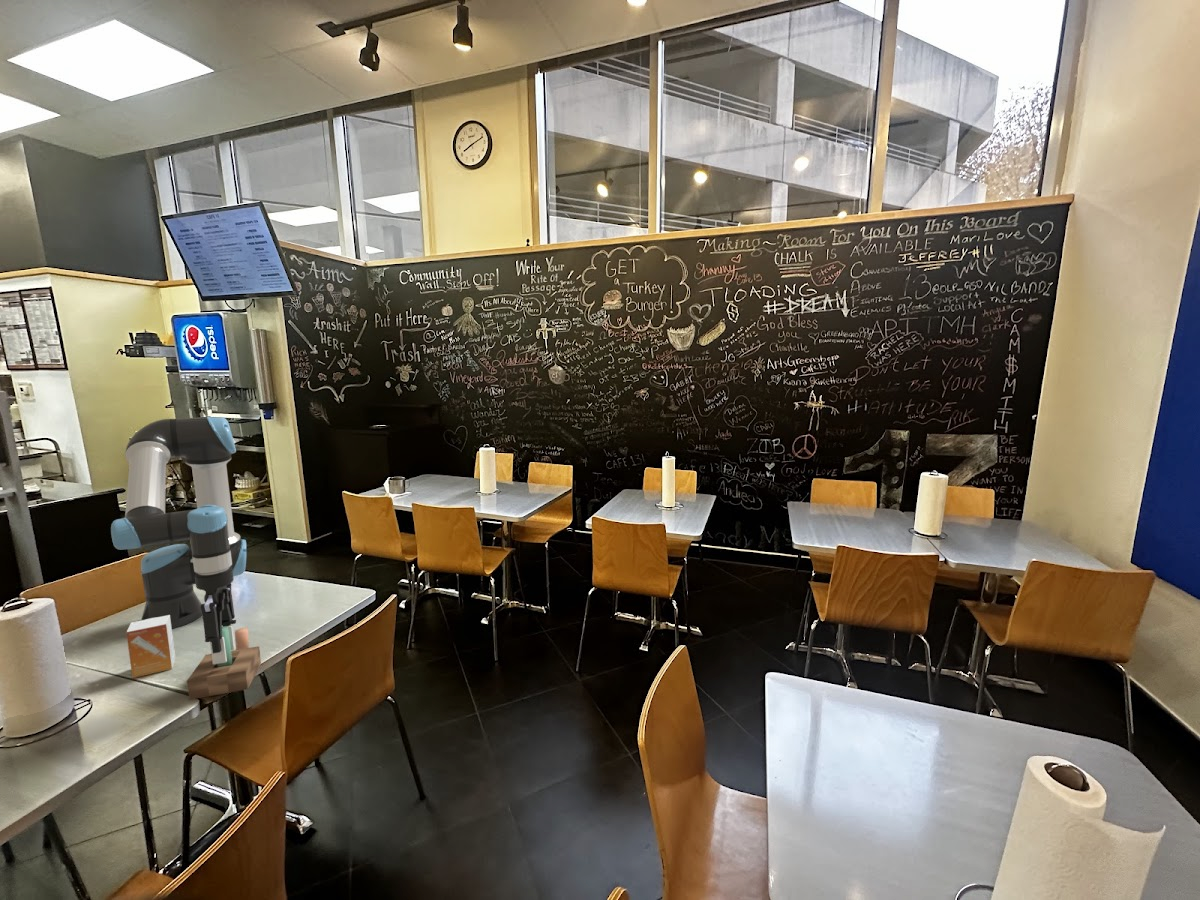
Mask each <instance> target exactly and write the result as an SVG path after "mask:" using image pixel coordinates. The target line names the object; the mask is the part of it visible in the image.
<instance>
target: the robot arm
mask: <svg viewBox="0 0 1200 900" xmlns="http://www.w3.org/2000/svg"><path fill="white" fill-rule="evenodd" d="M236 452H237V449H236V445H235V441H234V436H233V433H232V429H231V427H230V423H229V421H228V420H227V419H226V418H224V417H222V416H202V417H199V416H198V417H184V418H183V417H181V418H163V419H158V420H155V421H153V422H150V423H148V424H146V425H144V426H143V427H142V428H140V429H139V430H138V431H136V432H135V433H134V434H133V436H131V438H130V440H129V441H128V443H127V445H126V447H125V460H126V461H127V463H129V466H128V467H129V469H128V479H127V490H126V501H125V504H126V505H125V514H124V517H121V518H118V519H117V518H116V519H115V520H113V521H112V523H111V524H110V525H111V526H110V535H111V539H112V540H111V541H112V543H113V547H114V548H115V549H117V550H133V549H141V548H147V547H152V546H157V545H165V544H171V543H177V542H179V543H177V544H172V545H167V546H163V547H160V548H158V549H154V550H152V551H150V552H148V553H146V554H145V555H144V556H143V557H142V558H141V560H140V574H141V576H142V577H141V578H142V582H143V583H142V584H143V590H144V596H145V597H144V598H145V605H144V608H143V611H142V615H141V619H140V621H141V620H146V619H150V618H156V617H162V616H166V615H170V620H171V628H172V629H175V628H179V627H182V626H185V625H188V624H190V623H193V622H194V621H196V620H198V619H199V618H201V617H202V621H203V630H204V642H205V643H209V644H210V651H211V653H210V654H212V661H213V664H219V663H225V662H227V657H226V649H225V641H224V637H222V627H228V629H229V638H230V646H231V651H232V650H236V644H235V635H234V629H233V625H235V624H236V623H237V619H235V616H236V615H235V607H234V600H233V596H232V595H233V594H232V583H233V582H234V578H235V577H238V576H241V575H242V574H244V573H245V571H246V567H247V565H246V564H247V541H246V539H244V538H243V539H241V535H240V534H239V533H237V532H235V528H234V521H233V520H234V519H233V512H232V511H233V510H232V504H231V503H232V502H231V494H230V486H229V477H228V468H227V464H228V463H229V462H230V461H231V460H232V454H235V453H236ZM171 458H184V463H185V464H186V465H187V466H189V467H190V468H191V469H192V477H193V484H194V486H193V487H194V492H195V493H194V494H195V500H196V507H197V508H195V509H188V510H182V511H181V510H180V511H174V512H173V511H172V512H166V480H167V479H166V478H167V477H166V475H167V474H166V473H167V463H169V461H170V459H171ZM185 541H189V543H190V547H189V545H188V544H186V543H180V542H185ZM194 585H195V588H196V589H197V590H200V591H201V590H202V591H204V592H205V595H204V597H203V599H204V603H202V602H201V601H200V599H199V598H198V596H197V593H195V591H194Z"/></svg>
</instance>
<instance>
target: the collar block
mask: <svg viewBox="0 0 1200 900" xmlns="http://www.w3.org/2000/svg"><path fill="white" fill-rule="evenodd" d="M231 655H232V663H233V664H232V665H230V666H224V667H218V664H213V661H212V653H208V654H205V655H204V656H203V658H202V659H201V661H200V662H199V663H198V665H197V666H196V667H195V669H194V670H193V671H192V673H191V675H190V676H189V677H188V678H187V680H186V685H187V691H188V693H187V694H188V699H189V700H194V699H201V698H205V697H212V696H216V695H222V694H228V693H234V692H239V691H244V690H248V689H249V688H250V687H251V686H250V685H251V683H252V682H253V680H254V677H255V675H256V673H257V672H258V670H259V668H260V667H261V664H262V662H261V652H260V646H253V647H249V648H245V649H239V650H236V649H234V650H231Z"/></svg>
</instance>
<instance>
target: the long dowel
mask: <svg viewBox="0 0 1200 900" xmlns="http://www.w3.org/2000/svg"><path fill="white" fill-rule="evenodd" d="M222 637H224V641H225V649H226V657H227V662H225V663H219V664H218V667H224V666H230V665H232V664H233V663H232V655H231V651H232V650H231V646H230V638H229V629H228V627H223V626H222Z"/></svg>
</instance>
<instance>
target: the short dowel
mask: <svg viewBox="0 0 1200 900" xmlns="http://www.w3.org/2000/svg"><path fill="white" fill-rule="evenodd" d="M249 639H250V638H249V629H248V628H247V627H241V628H239V629H236V630H235V631H234V643H235V650H239V649H245V648H250V641H249Z"/></svg>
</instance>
